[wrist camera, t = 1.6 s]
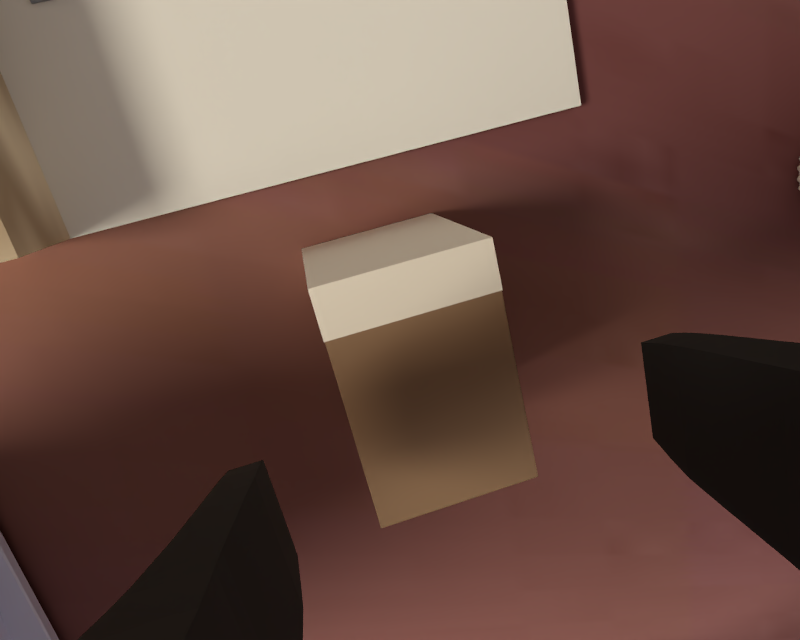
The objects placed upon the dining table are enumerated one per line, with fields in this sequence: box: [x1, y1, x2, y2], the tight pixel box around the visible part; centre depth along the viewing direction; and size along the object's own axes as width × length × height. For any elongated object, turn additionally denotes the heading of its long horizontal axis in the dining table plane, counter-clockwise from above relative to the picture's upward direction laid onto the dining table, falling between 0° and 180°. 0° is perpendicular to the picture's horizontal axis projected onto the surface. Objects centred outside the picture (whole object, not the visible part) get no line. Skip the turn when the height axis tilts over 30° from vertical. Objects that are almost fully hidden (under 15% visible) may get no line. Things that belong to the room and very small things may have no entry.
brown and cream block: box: [302, 213, 538, 528], centre depth 16 cm, size 6×4×6 cm
